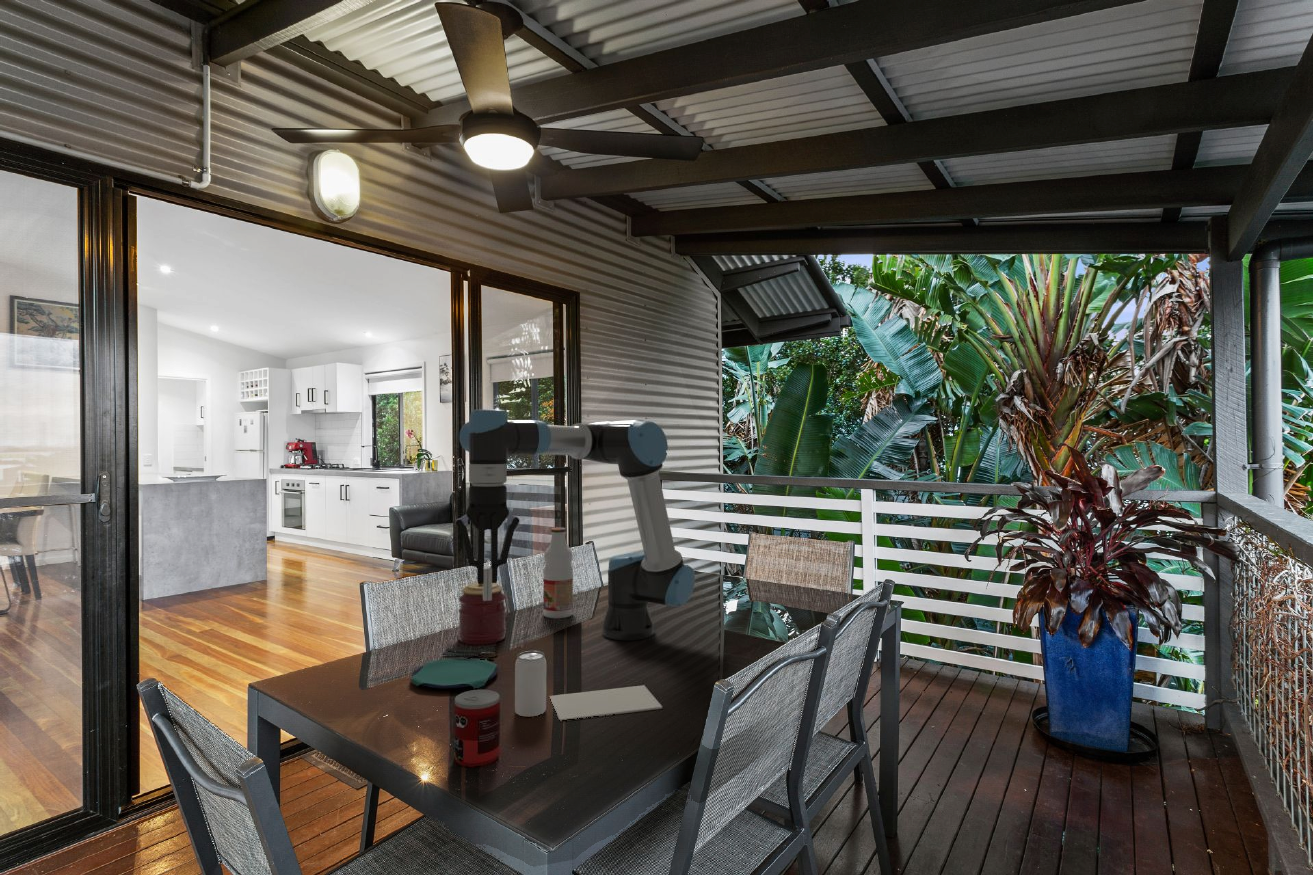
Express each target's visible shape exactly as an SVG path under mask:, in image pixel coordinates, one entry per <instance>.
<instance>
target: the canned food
mask: <svg viewBox="0 0 1313 875" xmlns="http://www.w3.org/2000/svg"><path fill="white" fill-rule="evenodd" d="M453 705H454V706H453V707H454V708H453V710H454V711H453V712H454V714H453V715H454V716H453V722H454V724H453V725H454V726H453V727H454V730H453V733H454V734H453V736H454V738H453V739H454V741H453V746H454V747H453V748H454V749H453V752H454V753H453V756H454V759H455V761H456V763H457V764H458V765H460V766H463V767H465V766H467V768H476V767H475V766H481V767H484V765H485V766H488V765H490V764H493V762H495V761H496V760H497V759H498V758H499V755H500V747H501V745H500V743H501V742H500V741H501V739H500V737H501V735H500V733H501V732H500V731H501V728H500V727H501V726H500V725H501V724H500V723H501V722H500V721H501V698H500V694H499V693H498V692H497V691H495V690H489V689H477V690H476V689H473V690H468V691H464V692H461V693H460V694H457V695H456V696H455V698H454V704H453ZM487 764H488V765H487Z"/></svg>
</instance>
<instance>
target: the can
mask: <svg viewBox="0 0 1313 875" xmlns="http://www.w3.org/2000/svg"><path fill="white" fill-rule="evenodd" d="M514 664H515V666H514V669H515V670H514V712H515V714H516V715H517V714H518V715H520V716H529V717H530V716H537V717H539V716H538V715H540V714H542V715H543V714H545V712H546V711H547V660H546V658H545V653H544V652H543V651H539V650H528V651H522V652H520V653H518V654H517V659H516V660H515V663H514ZM518 715H517V716H518ZM520 716H519V717H520ZM540 716H541V715H540Z"/></svg>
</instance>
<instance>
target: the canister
mask: <svg viewBox="0 0 1313 875" xmlns="http://www.w3.org/2000/svg"><path fill="white" fill-rule="evenodd" d="M503 589H504V588H503V586H501V585H500V584H498V583H492V600H490V601H488V599H487V601H484V600H483V584H478V581H477V582H472V583H469V584H467V585H466V586H465V587H464V588H462V589H461V592H462V595H461V596H459V597H458V601H459V602H460V608H459V609H458V614H459V619H458V620H459V623H458V624H459V626H458V627H459V630H458V638H459V641H460V642H461V643H462V644H465V643H466V645H474V646H475V645H476V646H479V645H480V646H481V645H483V646H484V645H491V644H494V643H497V642H498V641H499V642H500V641H503V640H504V639H505V636H506V633H507V632H506V630H507V629H506V609H507V607H506V605H505V599H506V598H507V596H506V594H504V593H503V592H502V591H503ZM499 642H498V643H499Z"/></svg>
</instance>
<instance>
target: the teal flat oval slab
mask: <svg viewBox="0 0 1313 875" xmlns="http://www.w3.org/2000/svg"><path fill="white" fill-rule="evenodd" d="M485 650H486V649H485V648H482V649H480V648H478V649H471V650H470V649H469V650H468V649H466V650H465V649H457V648H446V649H445V652H444V651H443V652H442V654H441V656H442V655H447V656H460V657H456V658H457V659H443V660H433V661H429V662H426V663H424V665H422V666H420V667H418V668H416V669H415V670H413V672H412V673H411V679H410V681H411V684H413V685H415V686H417V687H418V686H419V685H420V686H424V687H428V688H432V689H433V688H434V689H458V688H459V689H460V688H461V689H462V688H467V687H473V689H475V688H479V687H481V686H483V687H484V686H485V685H486V683H487V681H491V680H492V679H493V678H494V677H496V676H497V675H498V670H499V668H498V664H496V663H494V662H493V661H487V659H488V658H484V659H485V660H480V659H481V658H479V657H481V656H479V657H478V658H470V659H466V658H467V656H461V655H471V656H470V657H473V656H474V655H475V656H477V654H478V652H489V651H490V650H489V651H485ZM446 651H456V652H448V653H447V652H446ZM457 652H473V653H477V654H471V653H457ZM480 654H494V653H480ZM472 655H473V656H472ZM420 686H419V687H420Z"/></svg>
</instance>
